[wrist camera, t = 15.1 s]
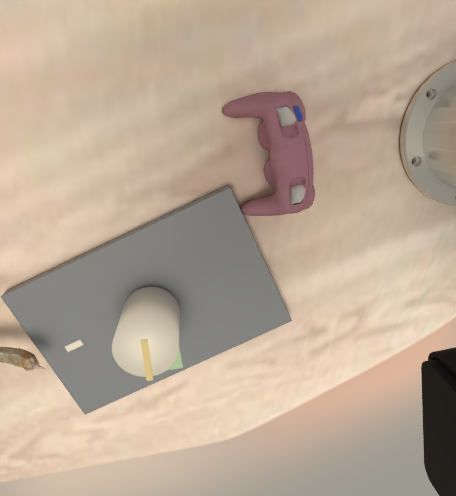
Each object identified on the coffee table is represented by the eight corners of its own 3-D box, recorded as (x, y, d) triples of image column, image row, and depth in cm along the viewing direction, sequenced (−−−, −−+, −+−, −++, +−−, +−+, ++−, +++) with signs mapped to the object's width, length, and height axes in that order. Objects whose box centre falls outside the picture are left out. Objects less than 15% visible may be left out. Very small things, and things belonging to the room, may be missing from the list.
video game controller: (277, 203, 40) (331, 211, 34) (237, 217, 38) (287, 229, 32) (260, 92, 37) (316, 81, 31) (214, 102, 35) (265, 91, 29)
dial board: (228, 184, 38) (230, 187, 36) (288, 313, 42) (292, 321, 41) (7, 289, 39) (0, 296, 37) (88, 404, 43) (84, 414, 42)
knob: (120, 286, 38) (106, 322, 32) (177, 281, 38) (175, 316, 32) (133, 369, 41) (123, 418, 34) (186, 364, 41) (185, 411, 35)
